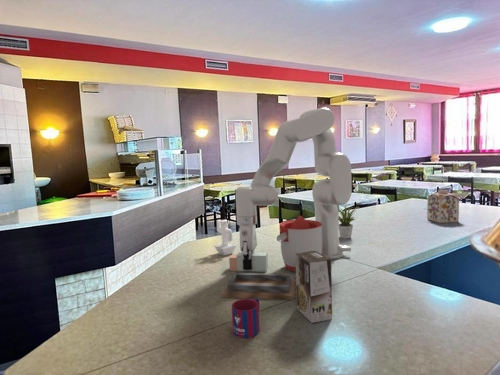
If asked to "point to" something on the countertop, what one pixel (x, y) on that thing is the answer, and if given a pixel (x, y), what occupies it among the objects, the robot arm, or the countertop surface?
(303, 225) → the citrus juicer
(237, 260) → the white bar
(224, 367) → the countertop surface
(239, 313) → the mug
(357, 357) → the countertop surface
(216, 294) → the countertop surface
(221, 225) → the figurine
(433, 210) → the decorative jar
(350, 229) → the house plant
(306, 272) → the coffee box
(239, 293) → the jig
